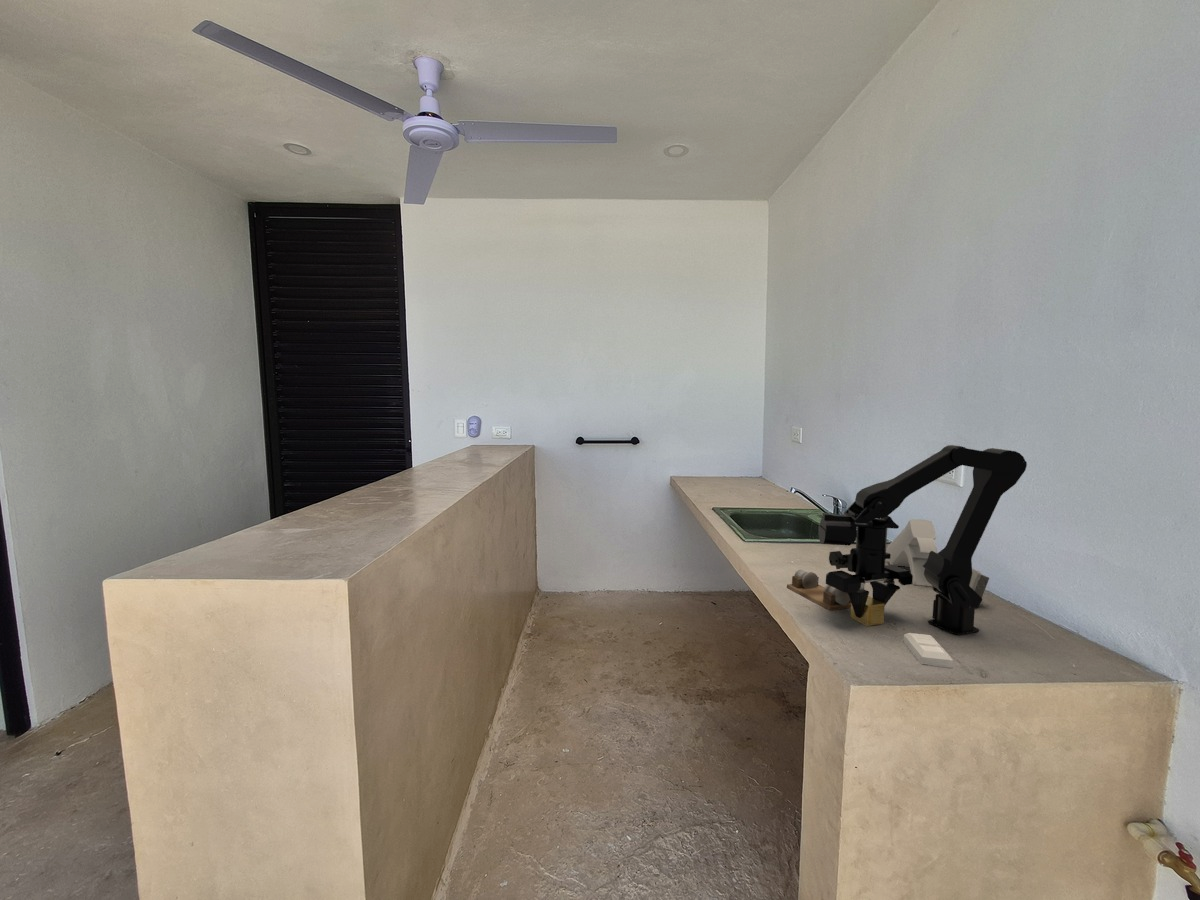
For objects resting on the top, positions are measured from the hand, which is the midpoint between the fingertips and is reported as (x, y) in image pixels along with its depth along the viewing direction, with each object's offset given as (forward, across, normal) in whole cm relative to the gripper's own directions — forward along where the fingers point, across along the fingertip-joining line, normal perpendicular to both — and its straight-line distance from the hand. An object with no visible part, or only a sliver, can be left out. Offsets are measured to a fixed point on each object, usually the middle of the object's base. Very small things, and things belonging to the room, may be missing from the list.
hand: (867, 615), depth 106 cm
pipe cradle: (+1, 0, -14) cm, 14 cm away
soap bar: (+2, +1, +15) cm, 15 cm away
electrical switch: (+1, -31, -2) cm, 31 cm away
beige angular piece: (+1, -37, -20) cm, 42 cm away
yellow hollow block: (+1, 0, 0) cm, 1 cm away
